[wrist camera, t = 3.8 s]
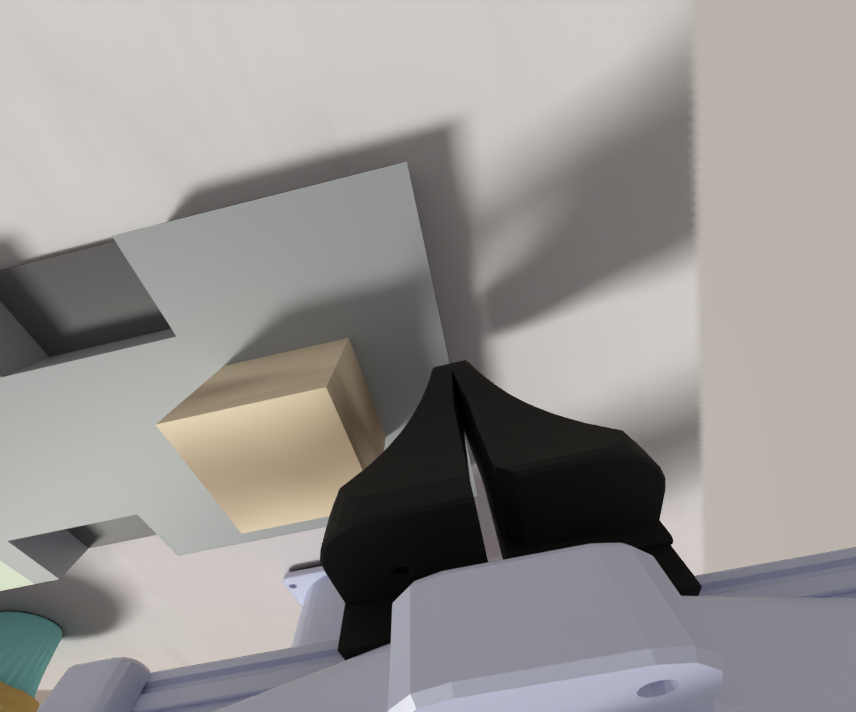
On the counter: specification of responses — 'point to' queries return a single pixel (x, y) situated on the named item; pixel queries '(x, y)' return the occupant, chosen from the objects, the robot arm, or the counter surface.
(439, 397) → the robot arm
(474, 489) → the track
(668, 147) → the counter surface
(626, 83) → the counter surface
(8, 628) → the cupcake
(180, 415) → the block
